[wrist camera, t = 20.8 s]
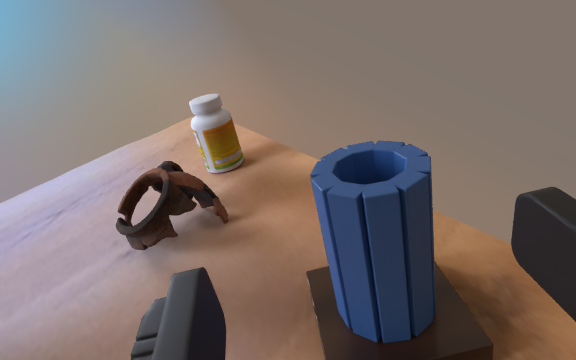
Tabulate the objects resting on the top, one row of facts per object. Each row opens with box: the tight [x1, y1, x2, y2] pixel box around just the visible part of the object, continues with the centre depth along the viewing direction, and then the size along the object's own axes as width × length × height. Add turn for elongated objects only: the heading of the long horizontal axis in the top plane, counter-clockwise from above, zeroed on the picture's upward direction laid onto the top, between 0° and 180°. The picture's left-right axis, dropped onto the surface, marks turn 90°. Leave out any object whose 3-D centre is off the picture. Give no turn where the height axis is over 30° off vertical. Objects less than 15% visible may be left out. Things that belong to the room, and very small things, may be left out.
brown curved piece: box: [116, 161, 228, 250], centre depth 39 cm, size 12×10×8 cm
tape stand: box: [306, 261, 493, 360], centre depth 22 cm, size 9×9×10 cm
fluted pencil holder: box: [311, 141, 436, 343], centre depth 22 cm, size 6×6×10 cm
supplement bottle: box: [189, 94, 244, 173], centre depth 50 cm, size 5×5×10 cm
